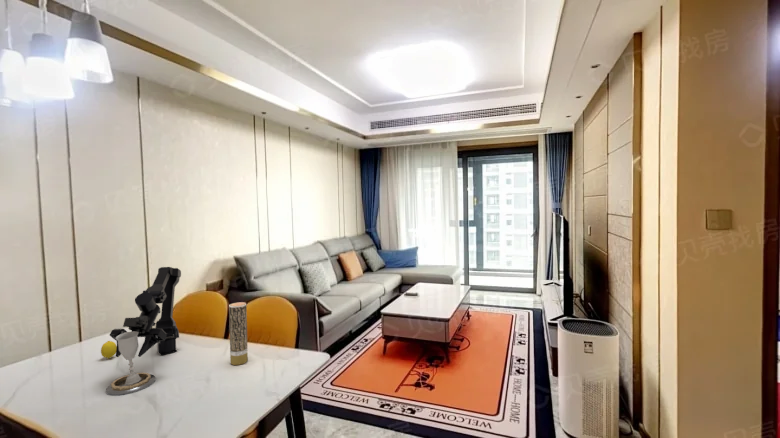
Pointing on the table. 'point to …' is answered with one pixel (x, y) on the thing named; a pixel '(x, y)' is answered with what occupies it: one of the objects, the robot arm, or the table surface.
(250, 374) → the table surface
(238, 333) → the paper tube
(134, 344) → the chalice
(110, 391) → the collar
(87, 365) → the table surface
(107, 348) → the lemon
